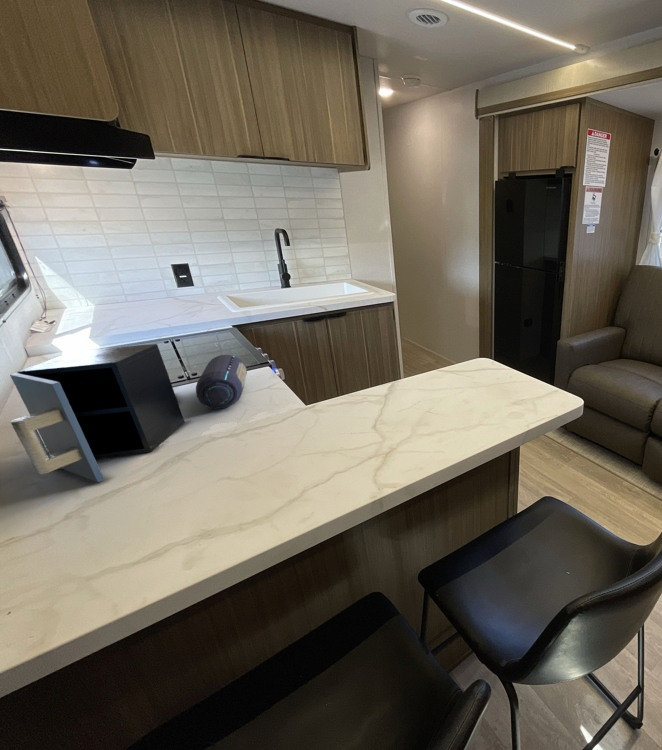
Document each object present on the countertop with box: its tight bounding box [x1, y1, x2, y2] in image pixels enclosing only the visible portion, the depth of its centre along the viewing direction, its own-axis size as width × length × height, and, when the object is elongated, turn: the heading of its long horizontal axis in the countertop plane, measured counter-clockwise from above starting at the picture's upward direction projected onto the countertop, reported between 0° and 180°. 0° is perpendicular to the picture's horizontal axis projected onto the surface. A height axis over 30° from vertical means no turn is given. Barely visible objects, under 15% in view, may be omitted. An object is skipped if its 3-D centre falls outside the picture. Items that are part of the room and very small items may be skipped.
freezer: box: [16, 343, 186, 460], centre depth 86 cm, size 14×16×20 cm
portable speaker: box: [195, 354, 248, 410], centre depth 111 cm, size 25×10×10 cm, turn 27°
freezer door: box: [10, 372, 105, 483], centre depth 72 cm, size 7×16×20 cm, turn 67°
